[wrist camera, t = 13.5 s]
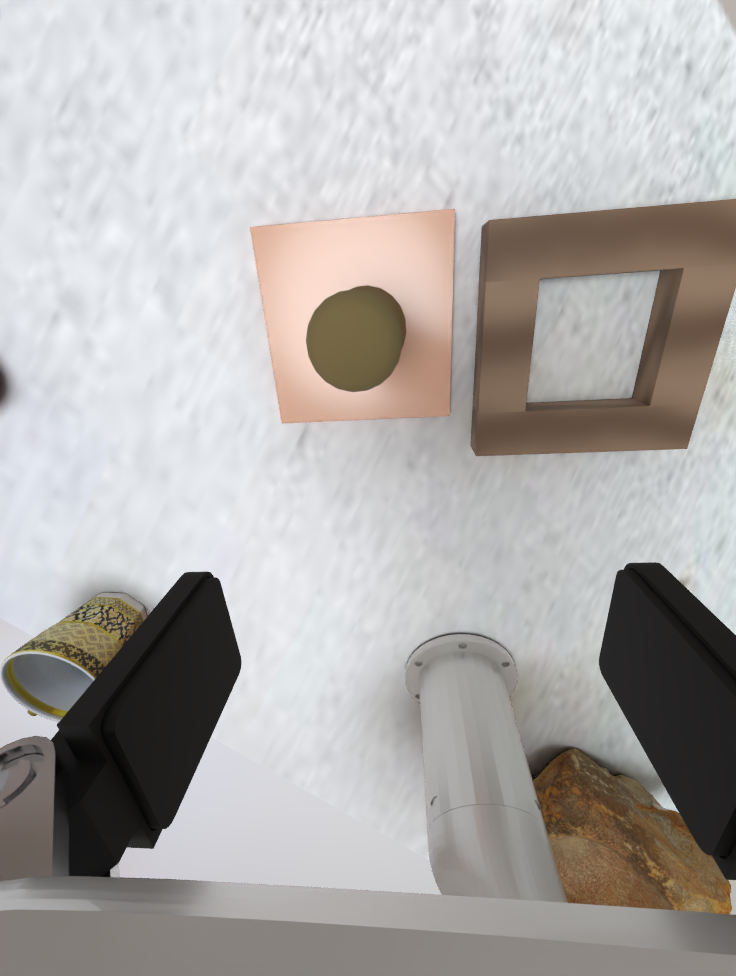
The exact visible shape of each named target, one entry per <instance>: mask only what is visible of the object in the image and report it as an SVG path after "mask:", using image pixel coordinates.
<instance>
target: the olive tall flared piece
mask: <svg viewBox="0 0 736 976" xmlns="http://www.w3.org/2000/svg"><path fill="white" fill-rule="evenodd" d="M405 336H406V319H405V316H404V313H403V311H402V308H401V306H400V305H399V303H398V302H397V301H396V300H395V298H394V297H393V296H392V295H391V294H389V293H388V292H386V291H385V290H383V289H381V288H378V287H373V286H369V285H366V286H359V287H354V288H352V289H350V290H347V291H339V292H338V293H336V294H334V295H332V296H330V297H328V298H326V299H325V300H324V301H323V302H322V303H321V304H320V305H319V306H318V307H317V308H316V309H315V311H314V313H313V315H312V317H311V319H310V321H309V324H308V328H307V336H306V345H307V351H308V357H309V359H310V361H311V363H312V365H313V367H314V369H315V371H316V372H317V373H318V374H319V375H320V376H321V378H322V379H323V380H324V381H325V382H327V383H328V384H330V385H332V386H334V387H335V388H337V389H340V390H345V391H349V392H360V391H367V390H370V389H372V388H374V387H376V386H379V385H380V384H382V383H383V382H384V381H385V380H386V379H387V378H388V377H389V376H390V375H391V374H392V372H393V371H394V369H395V367H396V366H397V364H398V362H399V358H400V354H401V350H402V347H403V345H404V341H405Z"/></svg>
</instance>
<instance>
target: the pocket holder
mask: <svg viewBox="0 0 736 976" xmlns="http://www.w3.org/2000/svg"><path fill="white" fill-rule="evenodd" d="M658 270H661V272H660V276H659V281H658V285H657V290H656V294H655V299H654V303H653V308H652V312H651V316H650V321H649V325H648V330H647V334H646V339H645V343H644V348H643V352H642V357H641V361H640V365H639V370H638V374H637V379H636V383H635V388H634V392H633V397H632V398H628V399H606V400H585V401H563V402H541V403H526V400H527V391H528V382H529V373H530V363H531V354H532V345H533V336H534V327H535V318H536V309H537V299H538V290H539V281H540V279H548V278H561V277H575V276H589V275H603V274H616V273H630V272H644V271H658ZM735 288H736V199H730V200H719V201H707V202H695V203H684V204H672V205H661V206H649V207H637V208H626V209H614V210H603V211H591V212H579V213H568V214H556V215H545V216H533V217H522V218H510V219H498V220H489V221H488V222H487V223H486V224H484V225H483V226H482V236H481V256H480V275H479V295H478V314H477V334H476V354H475V373H474V393H473V413H472V432H471V447H472V449H473V451H474V453H475V455H476V456H494V455H522V454H551V453H579V452H608V451H636V450H665V449H687V447H688V444H689V440H690V437H691V434H692V430H693V427H694V424H695V420H696V417H697V414H698V410H699V407H700V404H701V400H702V397H703V394H704V391H705V387H706V384H707V381H708V377H709V374H710V371H711V367H712V364H713V361H714V357H715V354H716V351H717V347H718V344H719V341H720V337H721V334H722V331H723V327H724V324H725V321H726V317H727V314H728V311H729V307H730V304H731V301H732V298H733V294H734V291H735Z"/></svg>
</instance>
